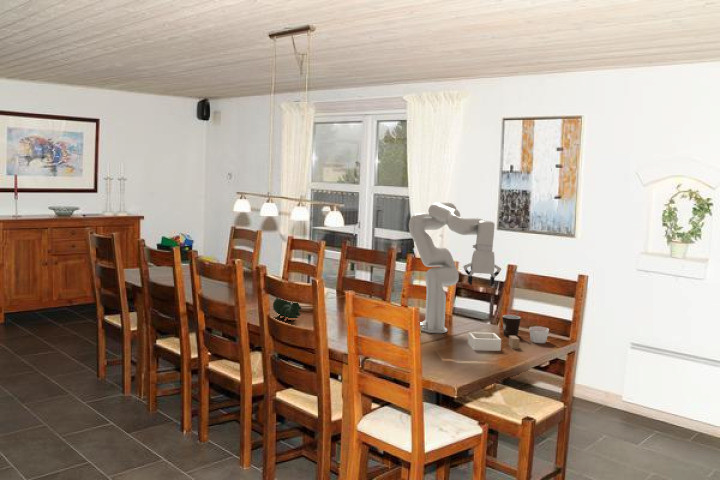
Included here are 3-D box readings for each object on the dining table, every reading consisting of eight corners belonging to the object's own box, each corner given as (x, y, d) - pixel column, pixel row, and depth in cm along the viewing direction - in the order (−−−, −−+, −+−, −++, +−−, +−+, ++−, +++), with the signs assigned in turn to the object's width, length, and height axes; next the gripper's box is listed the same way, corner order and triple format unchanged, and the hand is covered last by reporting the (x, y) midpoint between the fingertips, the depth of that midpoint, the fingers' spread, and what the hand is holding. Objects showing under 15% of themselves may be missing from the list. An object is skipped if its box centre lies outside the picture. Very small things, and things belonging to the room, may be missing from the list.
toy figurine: (304, 326, 344) (283, 312, 364) (307, 290, 340) (285, 278, 361) (287, 328, 339) (266, 313, 359) (290, 291, 335) (269, 279, 356)
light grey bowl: (552, 343, 321) (553, 330, 321) (536, 344, 318) (537, 331, 317) (540, 338, 330) (541, 326, 329) (524, 340, 326) (525, 327, 325)
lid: (504, 353, 302) (505, 340, 301) (497, 346, 313) (497, 333, 313) (530, 354, 302) (531, 340, 302) (522, 347, 314) (523, 334, 314)
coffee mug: (519, 340, 325) (521, 319, 324) (501, 338, 327) (502, 318, 326) (519, 334, 337) (520, 314, 336) (501, 333, 339) (502, 313, 338)
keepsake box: (473, 352, 300) (474, 338, 299) (467, 345, 312) (468, 332, 311) (500, 352, 300) (501, 339, 300) (493, 345, 312) (494, 332, 312)
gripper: (466, 248, 305) (463, 285, 307) (505, 250, 305) (501, 287, 308) (463, 245, 312) (460, 282, 314) (501, 248, 313) (497, 284, 315)
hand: (480, 285), depth 311 cm, fingers open, 9 cm apart
